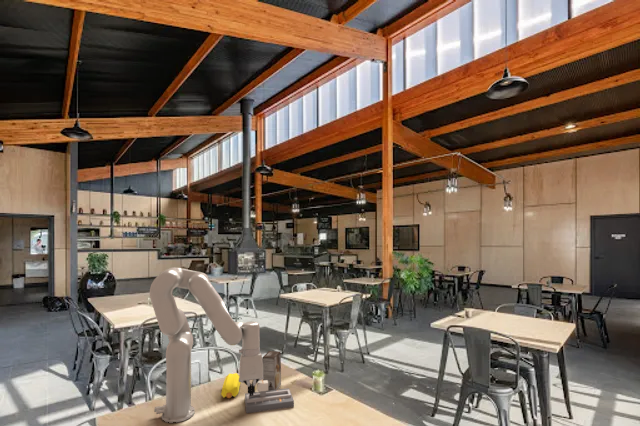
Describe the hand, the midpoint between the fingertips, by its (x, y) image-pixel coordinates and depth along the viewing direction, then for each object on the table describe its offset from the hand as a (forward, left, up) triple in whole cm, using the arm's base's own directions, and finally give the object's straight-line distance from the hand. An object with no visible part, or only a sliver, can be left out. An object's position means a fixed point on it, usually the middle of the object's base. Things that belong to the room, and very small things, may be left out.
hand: (251, 394), depth 150 cm
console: (+8, 0, -5) cm, 9 cm away
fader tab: (+5, 0, -2) cm, 5 cm away
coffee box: (+11, +14, -5) cm, 19 cm away
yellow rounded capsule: (-8, +16, -5) cm, 19 cm away
